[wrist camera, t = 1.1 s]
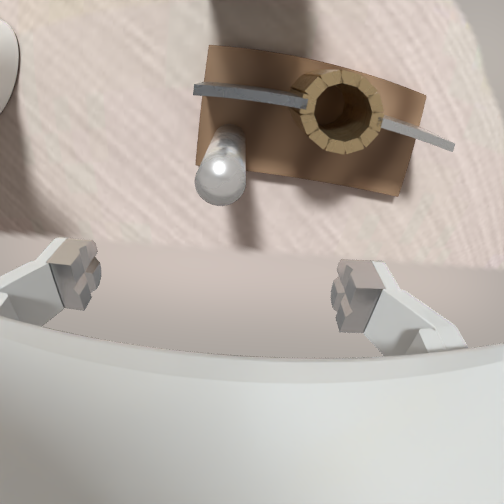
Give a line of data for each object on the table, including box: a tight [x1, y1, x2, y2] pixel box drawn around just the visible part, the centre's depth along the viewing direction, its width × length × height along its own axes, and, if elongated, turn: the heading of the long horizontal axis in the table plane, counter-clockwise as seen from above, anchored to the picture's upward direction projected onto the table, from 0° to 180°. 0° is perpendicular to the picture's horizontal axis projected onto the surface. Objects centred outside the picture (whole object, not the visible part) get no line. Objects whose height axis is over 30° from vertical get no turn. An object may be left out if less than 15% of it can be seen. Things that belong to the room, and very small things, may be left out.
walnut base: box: [196, 45, 426, 197], centre depth 28 cm, size 22×12×2 cm, turn 82°
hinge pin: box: [195, 124, 246, 206], centre depth 23 cm, size 3×3×12 cm
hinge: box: [193, 69, 455, 154], centre depth 23 cm, size 22×6×7 cm, turn 82°
